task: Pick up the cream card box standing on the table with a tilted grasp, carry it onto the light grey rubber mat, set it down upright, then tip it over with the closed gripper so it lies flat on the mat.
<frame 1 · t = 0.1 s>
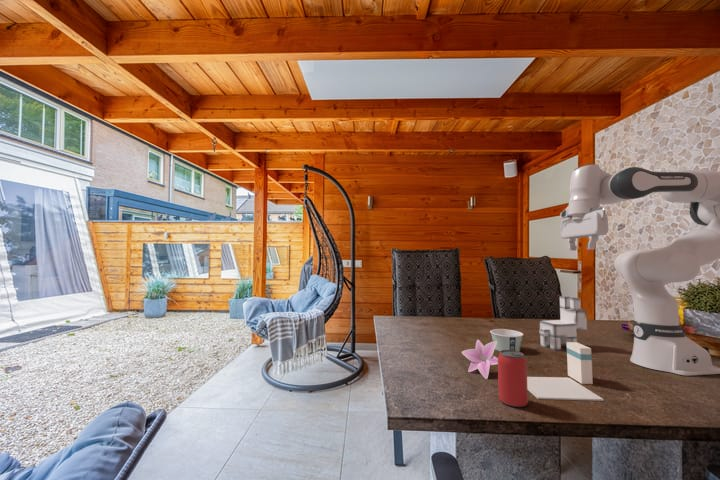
hand: (581, 250, 106), 39 cm above the table, tool pointing down, fingers open, 8 cm apart
card box: (579, 379, 91), on the table
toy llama: (561, 347, 124), on the table
food container: (506, 349, 121), on the table
mat: (554, 388, 84), on the table
beer can: (513, 402, 76), on the table
lily: (482, 373, 96), on the table
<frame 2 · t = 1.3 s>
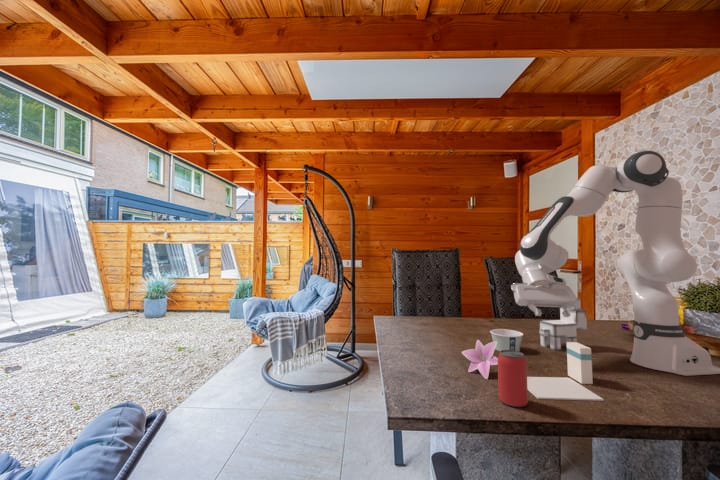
hand: (553, 315, 104), 16 cm above the table, tool tilted 45°, fingers open, 8 cm apart
nothing on the table moved.
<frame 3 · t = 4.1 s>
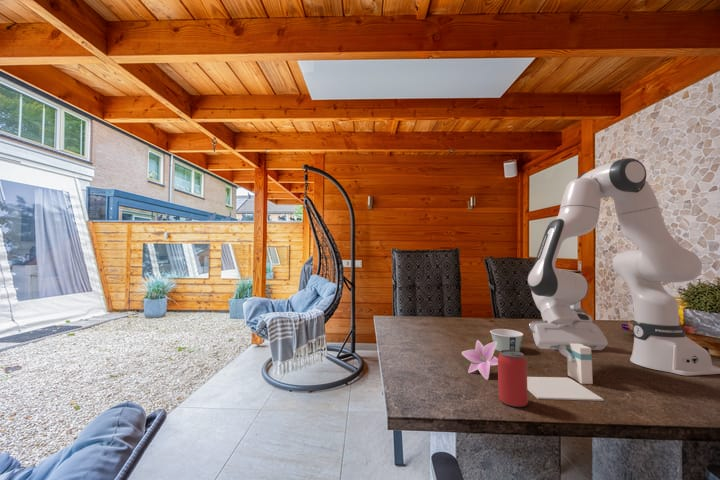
hand: (580, 361, 90), 5 cm above the table, tool tilted 45°, fingers closed on card box, 3 cm apart
card box: (579, 379, 91), on the table, touching gripper
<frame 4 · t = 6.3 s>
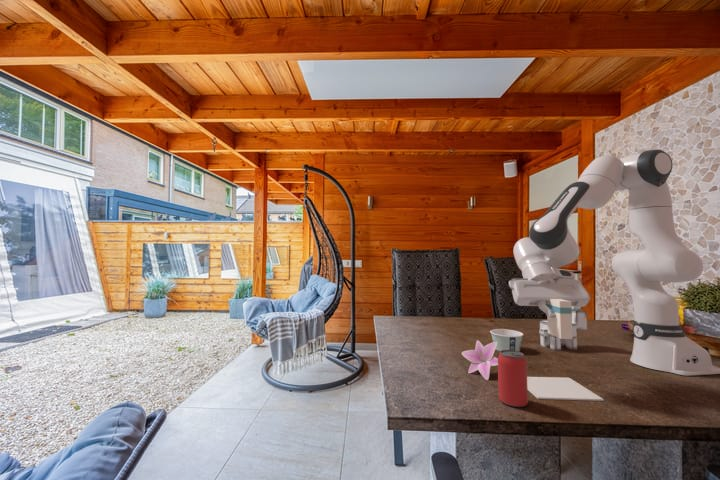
hand: (560, 316, 85), 20 cm above the table, tool tilted 45°, fingers closed on card box, 3 cm apart
card box: (559, 335, 85), point 14 cm above the table, touching gripper
when the fingers open (7 cm above the table, at t = 8.9 s): card box stays where it is, resting on mat.
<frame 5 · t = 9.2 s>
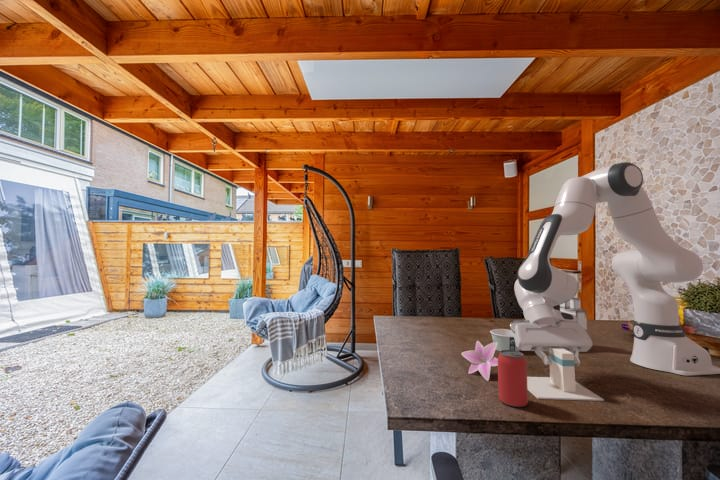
hand: (562, 364, 84), 7 cm above the table, tool tilted 45°, fingers open, 6 cm apart
card box: (562, 386, 84), resting on mat
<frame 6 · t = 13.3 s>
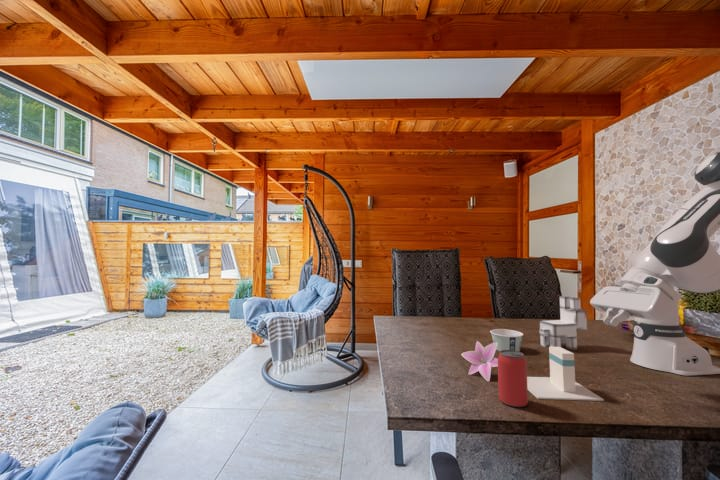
hand: (608, 324, 83), 18 cm above the table, tool tilted 45°, fingers closed
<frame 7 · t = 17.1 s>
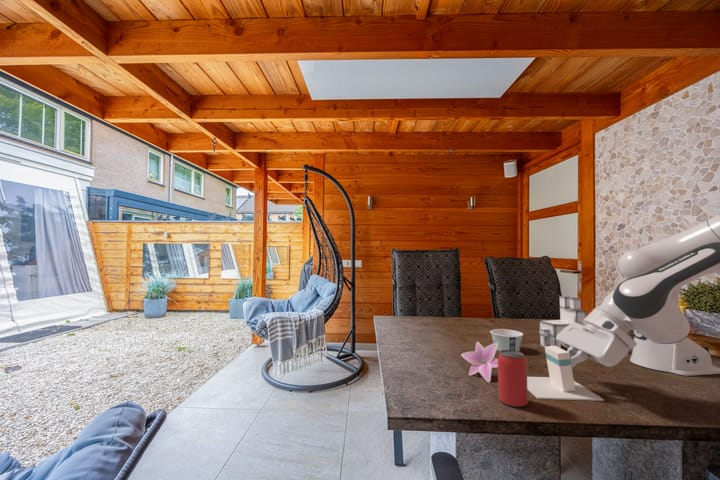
hand: (567, 363, 84), 7 cm above the table, tool tilted 45°, fingers closed
card box: (562, 386, 84), point 1 cm above the table, tilted 7°, touching mat
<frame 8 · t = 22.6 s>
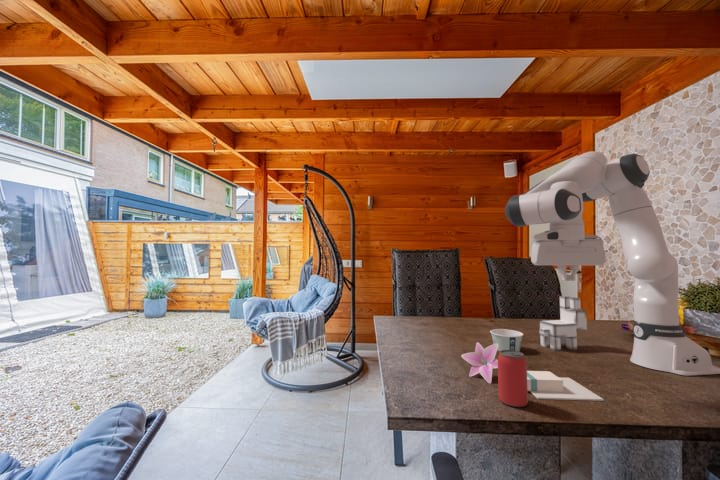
hand: (568, 280, 93), 29 cm above the table, tool pointing down, fingers closed
card box: (556, 381, 85), point 2 cm above the table, tilted 90°, touching mat
at the end: card box tilted 90°; card box inside the target area (1.4 cm from its centre), point 1.9 cm above the table; the gripper is holding nothing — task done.
